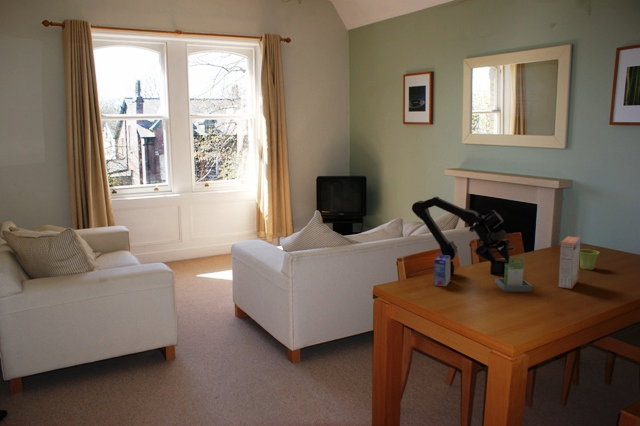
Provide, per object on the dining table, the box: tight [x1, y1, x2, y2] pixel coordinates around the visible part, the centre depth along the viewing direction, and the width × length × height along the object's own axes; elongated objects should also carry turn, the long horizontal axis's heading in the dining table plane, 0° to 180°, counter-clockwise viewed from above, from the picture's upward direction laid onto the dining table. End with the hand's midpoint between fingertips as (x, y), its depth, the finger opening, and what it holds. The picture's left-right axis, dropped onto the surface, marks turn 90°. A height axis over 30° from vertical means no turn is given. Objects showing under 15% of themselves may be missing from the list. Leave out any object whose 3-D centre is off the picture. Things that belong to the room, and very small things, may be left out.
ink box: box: [503, 256, 525, 285], centre depth 241 cm, size 7×4×13 cm, turn 94°
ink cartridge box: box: [434, 250, 451, 287], centre depth 247 cm, size 10×6×14 cm, turn 155°
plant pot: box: [579, 248, 600, 271], centre depth 272 cm, size 9×9×9 cm
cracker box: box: [558, 235, 581, 290], centre depth 244 cm, size 14×6×21 cm, turn 145°
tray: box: [494, 277, 533, 293], centre depth 242 cm, size 12×12×2 cm
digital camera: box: [489, 258, 515, 276], centre depth 262 cm, size 10×5×7 cm, turn 76°
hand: (502, 262), depth 245 cm, fingers open, 9 cm apart
